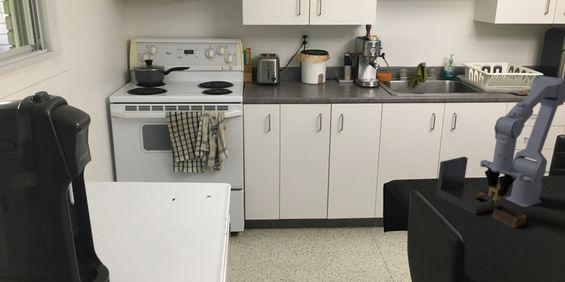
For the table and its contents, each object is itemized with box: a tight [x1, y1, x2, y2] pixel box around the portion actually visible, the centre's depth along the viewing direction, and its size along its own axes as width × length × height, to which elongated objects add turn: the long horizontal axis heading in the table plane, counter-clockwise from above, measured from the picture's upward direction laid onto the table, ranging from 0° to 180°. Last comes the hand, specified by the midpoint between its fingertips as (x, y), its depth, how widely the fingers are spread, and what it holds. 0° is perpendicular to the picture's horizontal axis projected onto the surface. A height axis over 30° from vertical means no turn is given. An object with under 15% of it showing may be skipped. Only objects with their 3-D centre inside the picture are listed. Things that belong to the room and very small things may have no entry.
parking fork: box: [491, 206, 527, 229], centre depth 155 cm, size 5×8×3 cm
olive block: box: [487, 183, 507, 205], centre depth 158 cm, size 4×3×6 cm
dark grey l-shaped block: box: [435, 156, 501, 215], centre depth 167 cm, size 12×17×13 cm
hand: (497, 193), depth 158 cm, fingers closed on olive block, 3 cm apart
